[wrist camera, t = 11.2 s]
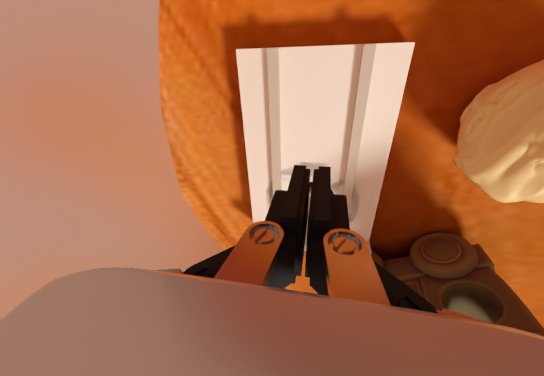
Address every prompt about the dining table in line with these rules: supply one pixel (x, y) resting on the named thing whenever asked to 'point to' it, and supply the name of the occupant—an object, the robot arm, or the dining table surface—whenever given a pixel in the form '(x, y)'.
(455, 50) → the dining table surface
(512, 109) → the sculpture
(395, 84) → the white tray
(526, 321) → the wooden toy train
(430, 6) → the dining table surface
